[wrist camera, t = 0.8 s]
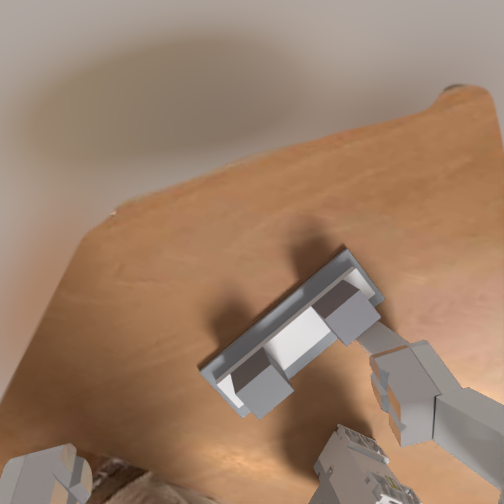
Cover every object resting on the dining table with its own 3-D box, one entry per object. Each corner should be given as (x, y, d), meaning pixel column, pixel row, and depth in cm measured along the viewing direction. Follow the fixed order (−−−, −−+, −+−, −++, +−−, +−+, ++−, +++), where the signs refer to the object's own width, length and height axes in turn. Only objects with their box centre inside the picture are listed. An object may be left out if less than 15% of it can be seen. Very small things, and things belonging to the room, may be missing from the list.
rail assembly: (382, 297, 63) (411, 313, 55) (242, 415, 63) (250, 449, 55) (345, 248, 61) (369, 257, 53) (199, 370, 61) (201, 398, 52)
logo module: (377, 320, 64) (412, 344, 54) (402, 352, 65) (440, 381, 56) (355, 339, 64) (386, 366, 54) (380, 370, 65) (414, 402, 56)
